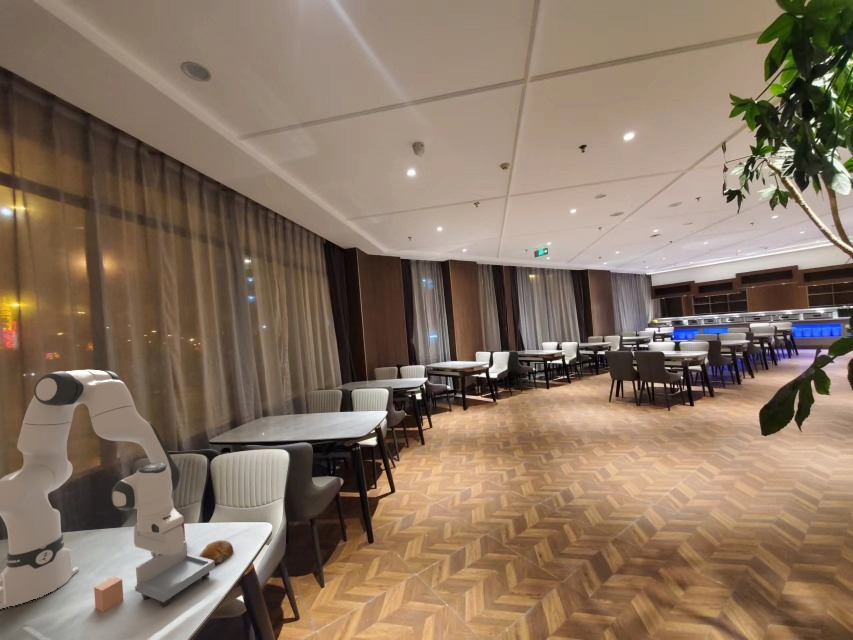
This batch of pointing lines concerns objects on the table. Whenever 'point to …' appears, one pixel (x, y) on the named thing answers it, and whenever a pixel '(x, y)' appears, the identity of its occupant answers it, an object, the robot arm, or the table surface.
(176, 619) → the table surface
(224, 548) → the bread roll
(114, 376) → the robot arm
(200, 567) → the grey open tray
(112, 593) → the block
